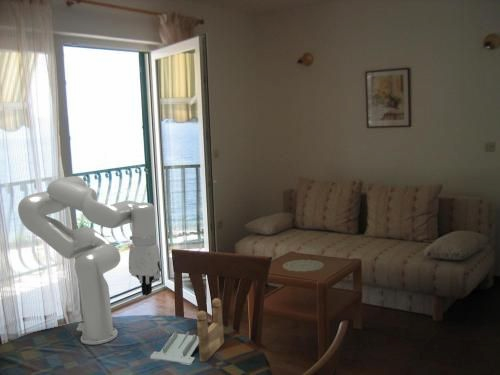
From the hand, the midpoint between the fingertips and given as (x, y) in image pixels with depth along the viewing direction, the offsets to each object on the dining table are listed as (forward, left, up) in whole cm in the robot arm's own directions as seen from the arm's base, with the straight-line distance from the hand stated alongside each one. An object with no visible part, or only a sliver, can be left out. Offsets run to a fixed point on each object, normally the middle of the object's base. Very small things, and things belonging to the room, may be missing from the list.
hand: (147, 293), depth 168 cm
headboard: (+23, 0, -18) cm, 29 cm away
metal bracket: (+13, -3, -18) cm, 23 cm away
